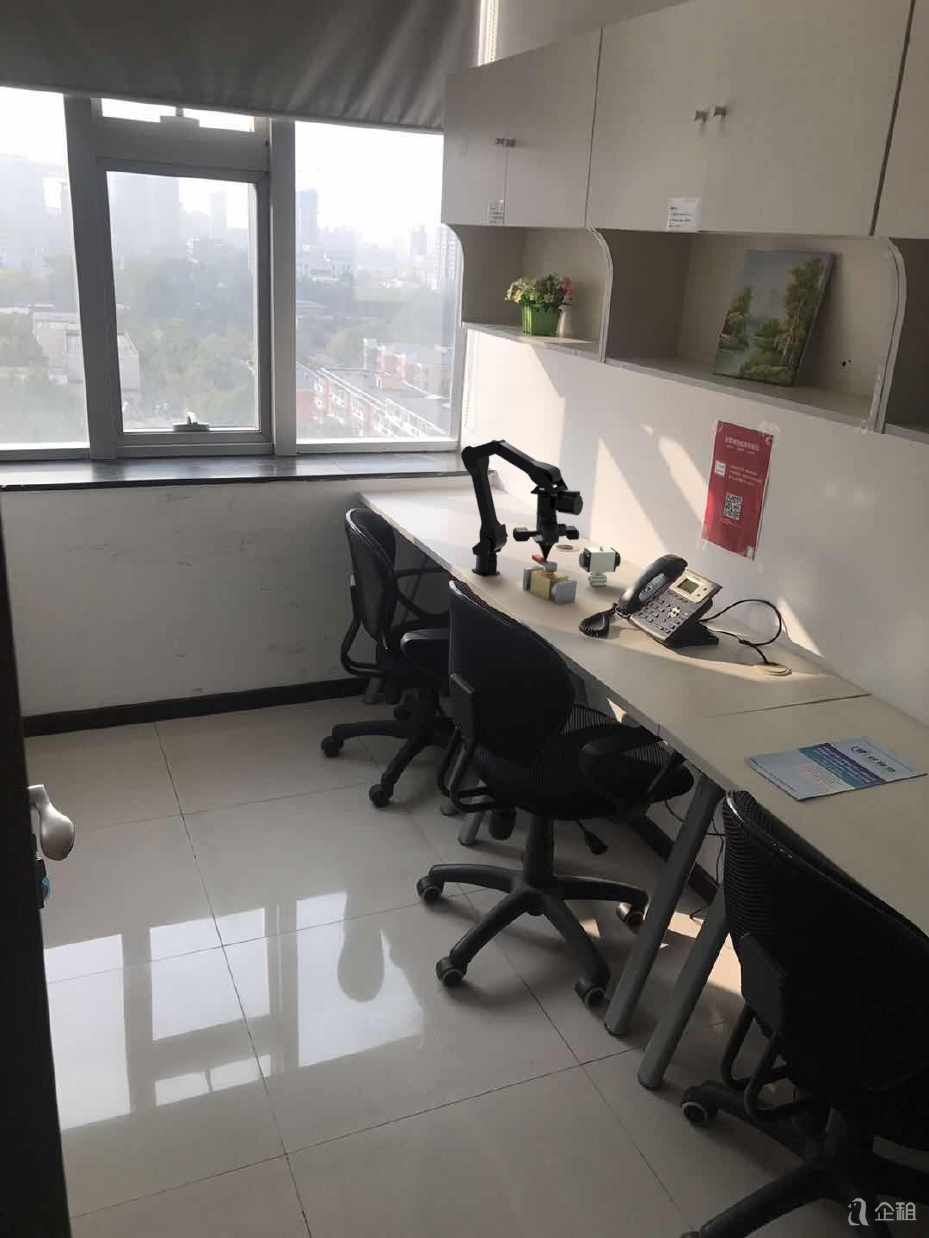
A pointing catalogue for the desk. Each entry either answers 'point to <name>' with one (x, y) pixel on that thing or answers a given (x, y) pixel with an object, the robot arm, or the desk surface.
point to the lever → (545, 563)
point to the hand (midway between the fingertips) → (544, 561)
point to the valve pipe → (549, 585)
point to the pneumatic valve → (599, 563)
